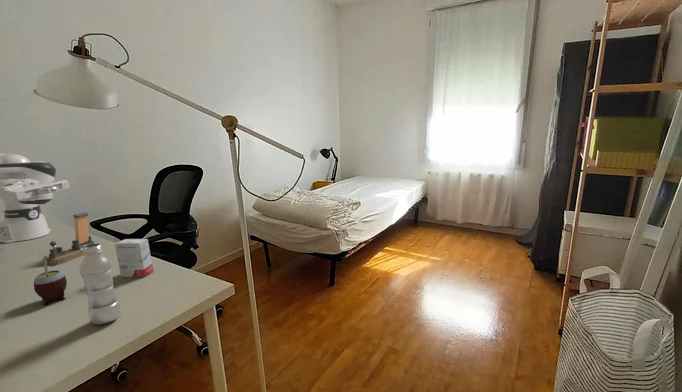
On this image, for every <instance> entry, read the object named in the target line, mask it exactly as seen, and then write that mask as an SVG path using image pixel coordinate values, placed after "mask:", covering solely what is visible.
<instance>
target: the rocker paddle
mask: <svg viewBox="0 0 682 392" xmlns="http://www.w3.org/2000/svg"><path fill="white" fill-rule="evenodd" d="M72 217H73V218H74V232H75V240H76V241H78V242H79V244H81V243H84V242H87V241H89V236H90V235H89V219H88V218H89V213H88V212H85V211H83V212H80V213H75V214H73V215H72Z"/></svg>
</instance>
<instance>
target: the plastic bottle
mask: <svg viewBox="0 0 682 392" xmlns="http://www.w3.org/2000/svg"><path fill="white" fill-rule="evenodd" d="M82 249H83V255H82V256H84V259H83V260H82V261H81V263H80V266H79V273H80V276H81V278H82V281H83V284H84V286H85V287H84V288H85V291H86V294H87V303H88V305H87V306H88V308H87V313H88V314H87V316H88V319H89V321H90V322H91V323H92V324H93V325H97V326H100V325H104V324H109V323H111V322H113V321H115V320H116V319H117V318H118V317H119V316H120V314H121V304H120V302H119V300H118V297H117V294H116V292H115V288H114V287H115V286H114V279H113V262H112V260H111V259H110V258H109V257H108V256H107V255H106V254H104V253H103V252H104V250H103V246H102V244H101V243H96V242H95V243H94V244H89V245H86V246H84V247H82Z"/></svg>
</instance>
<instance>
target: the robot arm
mask: <svg viewBox="0 0 682 392" xmlns="http://www.w3.org/2000/svg"><path fill="white" fill-rule="evenodd" d="M56 174H57V170H56V168H55V166H54V165H52V163H50V162H47V161H30V160H29V159H28V158H27V157H25V156H23V155H21V154H16V153H8V152H7V153H1V152H0V200H3V203H4V208H5V209H4V210H2V212H3V214H4V219H3V220H1V222H0V243H3V242H4V243H3V244H11V243H16V242H23V241H28V240H29V241H30V240H33V239H38V238H41V237H44V236H45V237H46V236H47V235H49V234H50V232H51V231H52V229H51V228H49V226H48V223H47V221H46V218H45V216H44V215H43V214H42V210H41V209H42V208H41V206H40V205H45V204H47V203H49V202H51V201H52V200H53V194H54V193H56V192H60V191H64V190H69V189H70V188H71V187H70V183H69V181H68V180H67V179H66V180H65V179H62V180H60V179H58V180H55V178H56Z"/></svg>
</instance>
